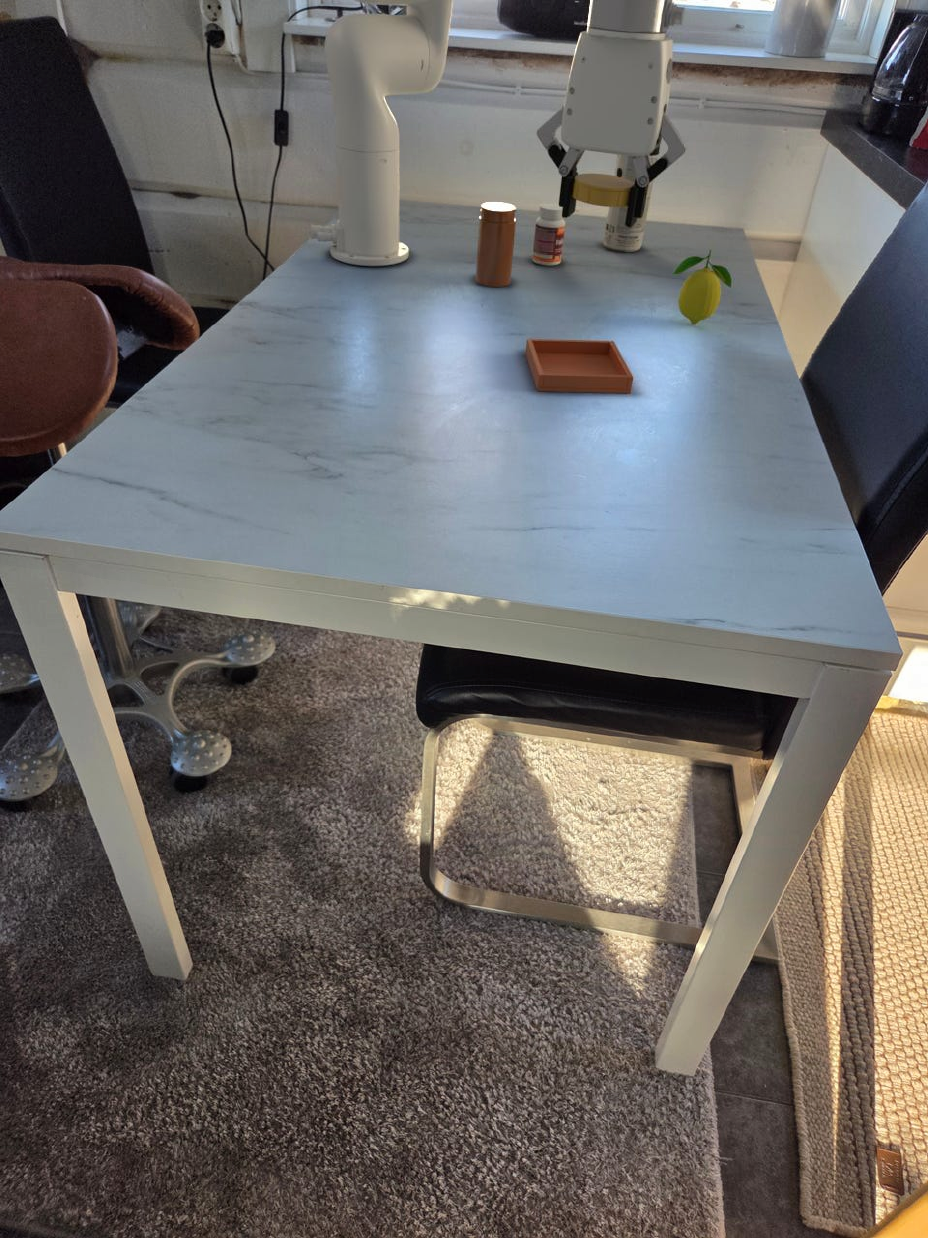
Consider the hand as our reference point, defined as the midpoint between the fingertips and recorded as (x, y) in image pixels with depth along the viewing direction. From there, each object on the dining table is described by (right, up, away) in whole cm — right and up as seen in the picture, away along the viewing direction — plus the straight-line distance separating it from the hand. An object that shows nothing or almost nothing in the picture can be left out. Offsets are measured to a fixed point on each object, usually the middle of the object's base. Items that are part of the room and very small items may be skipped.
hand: (599, 217), depth 90 cm
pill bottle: (-1, +15, +46) cm, 49 cm away
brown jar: (-10, +8, +37) cm, 39 cm away
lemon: (+18, -2, +27) cm, 32 cm away
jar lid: (0, +3, -2) cm, 3 cm away
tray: (-1, -14, +11) cm, 18 cm away
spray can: (+13, +21, +55) cm, 61 cm away
